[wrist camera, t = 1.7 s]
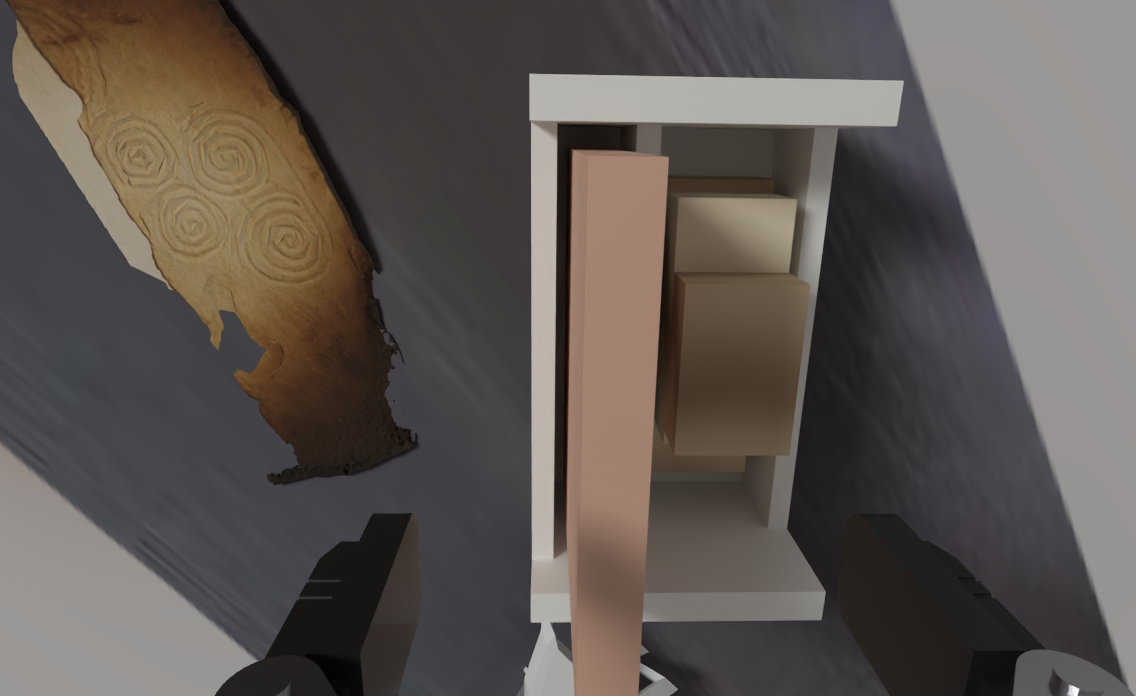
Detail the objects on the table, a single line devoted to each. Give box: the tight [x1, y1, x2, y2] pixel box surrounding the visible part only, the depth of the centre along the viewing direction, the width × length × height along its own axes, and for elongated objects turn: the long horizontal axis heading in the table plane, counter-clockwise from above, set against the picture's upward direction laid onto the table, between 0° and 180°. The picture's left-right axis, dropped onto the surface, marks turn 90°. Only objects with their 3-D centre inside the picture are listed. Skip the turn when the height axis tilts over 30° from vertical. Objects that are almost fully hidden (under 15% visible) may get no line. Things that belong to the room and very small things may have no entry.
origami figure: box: [517, 622, 678, 696], centre depth 33 cm, size 12×8×5 cm
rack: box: [530, 74, 904, 622], centre depth 25 cm, size 18×10×9 cm, turn 179°
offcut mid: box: [654, 192, 797, 444], centre depth 25 cm, size 9×4×2 cm, turn 179°
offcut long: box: [651, 175, 775, 472], centre depth 28 cm, size 12×4×2 cm, turn 179°
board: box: [563, 148, 669, 696], centre depth 22 cm, size 14×2×14 cm, turn 179°
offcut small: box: [664, 272, 811, 456], centre depth 23 cm, size 6×4×2 cm, turn 179°
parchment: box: [5, 0, 416, 485], centre depth 28 cm, size 25×10×1 cm, turn 23°
